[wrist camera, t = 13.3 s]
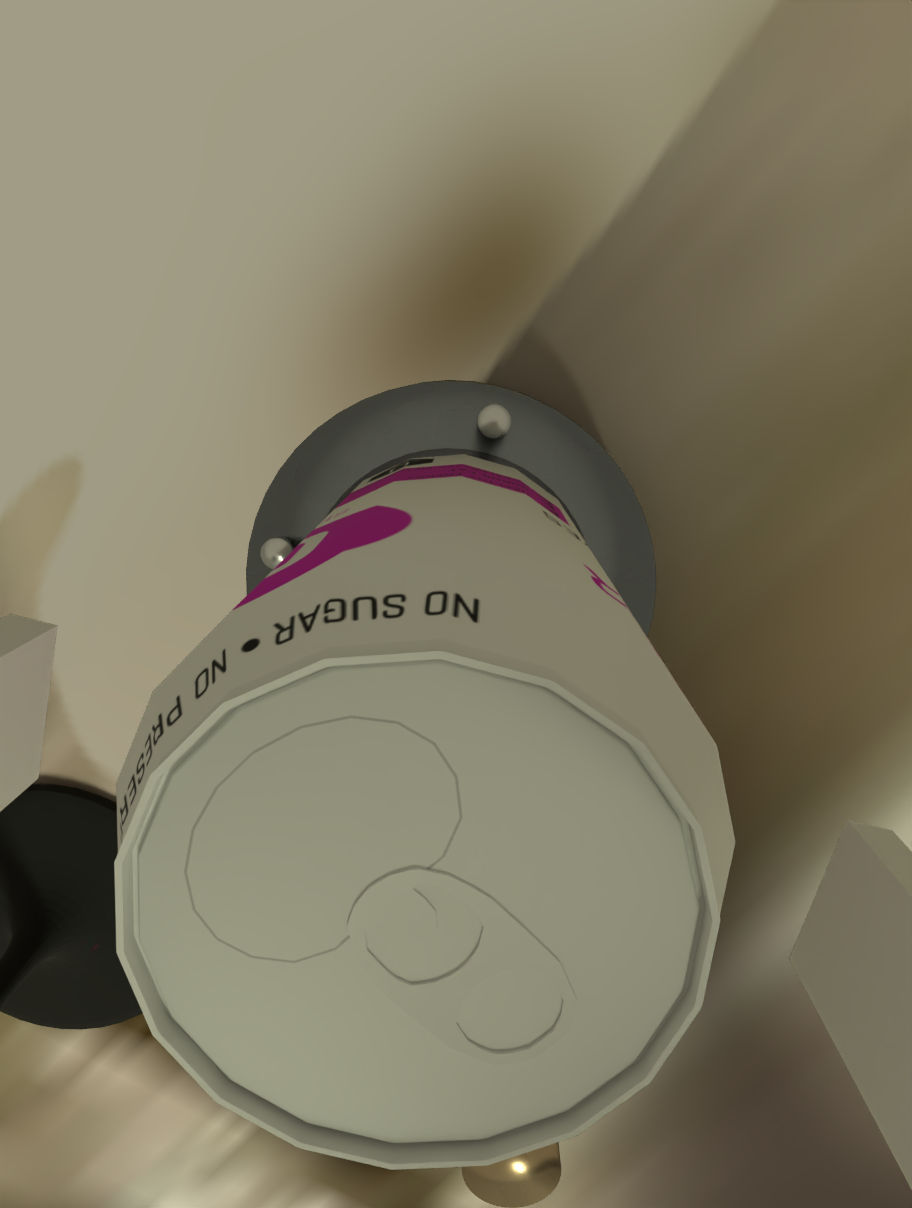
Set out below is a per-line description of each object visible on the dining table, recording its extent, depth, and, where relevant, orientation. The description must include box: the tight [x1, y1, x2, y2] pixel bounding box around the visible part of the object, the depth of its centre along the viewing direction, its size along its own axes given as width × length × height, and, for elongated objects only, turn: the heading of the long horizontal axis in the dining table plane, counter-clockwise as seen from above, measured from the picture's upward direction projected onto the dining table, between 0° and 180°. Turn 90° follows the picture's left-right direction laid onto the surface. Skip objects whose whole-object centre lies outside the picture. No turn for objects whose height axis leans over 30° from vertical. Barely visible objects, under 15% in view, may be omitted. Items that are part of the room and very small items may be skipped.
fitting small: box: [462, 1142, 561, 1208], centre depth 28 cm, size 7×7×6 cm
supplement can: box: [114, 454, 735, 1170], centre depth 17 cm, size 8×8×15 cm
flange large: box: [246, 380, 656, 638], centre depth 25 cm, size 12×12×3 cm
